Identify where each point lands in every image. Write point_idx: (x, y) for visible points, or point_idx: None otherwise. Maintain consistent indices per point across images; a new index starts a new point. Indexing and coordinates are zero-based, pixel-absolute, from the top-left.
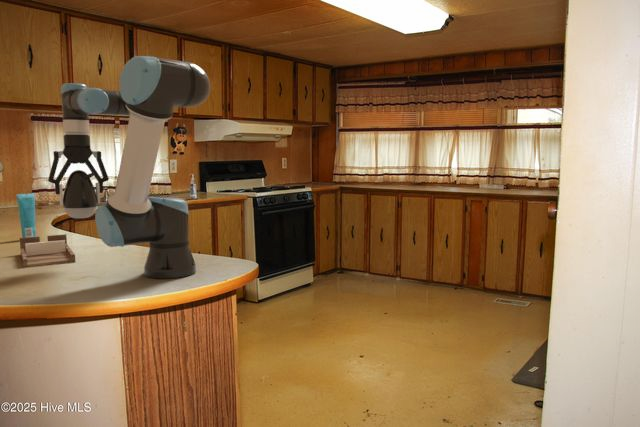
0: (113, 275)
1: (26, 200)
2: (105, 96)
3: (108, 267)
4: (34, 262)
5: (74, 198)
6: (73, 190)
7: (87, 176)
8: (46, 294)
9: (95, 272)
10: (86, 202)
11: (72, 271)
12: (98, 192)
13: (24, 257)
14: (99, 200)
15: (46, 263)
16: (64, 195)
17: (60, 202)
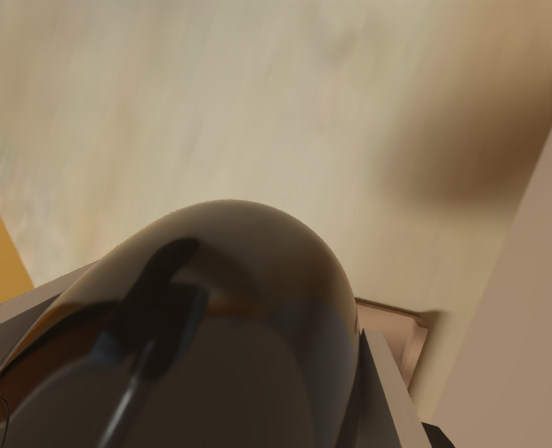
0: (264, 7)
1: None
2: None
3: (234, 137)
4: (386, 333)
5: (304, 254)
6: (299, 314)
7: None
8: None
9: (290, 94)
10: (214, 206)
11: (337, 160)
12: (30, 300)
13: (412, 361)
14: (88, 267)
15: (361, 303)
16: (360, 386)
17: (385, 351)
